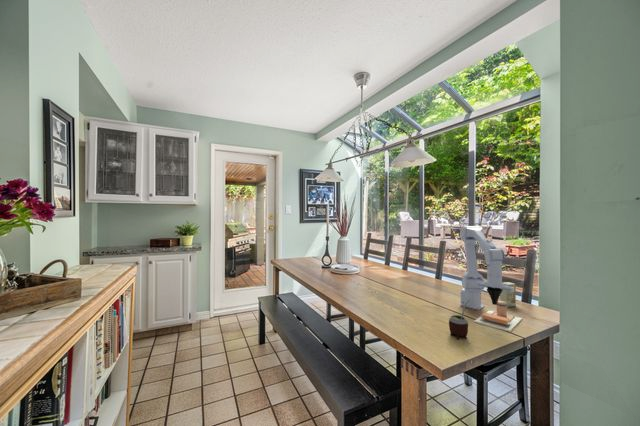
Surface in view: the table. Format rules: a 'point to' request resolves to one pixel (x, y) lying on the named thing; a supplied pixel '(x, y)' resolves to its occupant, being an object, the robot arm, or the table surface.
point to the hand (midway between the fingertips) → (494, 304)
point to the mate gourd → (458, 325)
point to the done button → (495, 318)
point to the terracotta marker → (502, 309)
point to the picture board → (507, 327)
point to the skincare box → (509, 295)
